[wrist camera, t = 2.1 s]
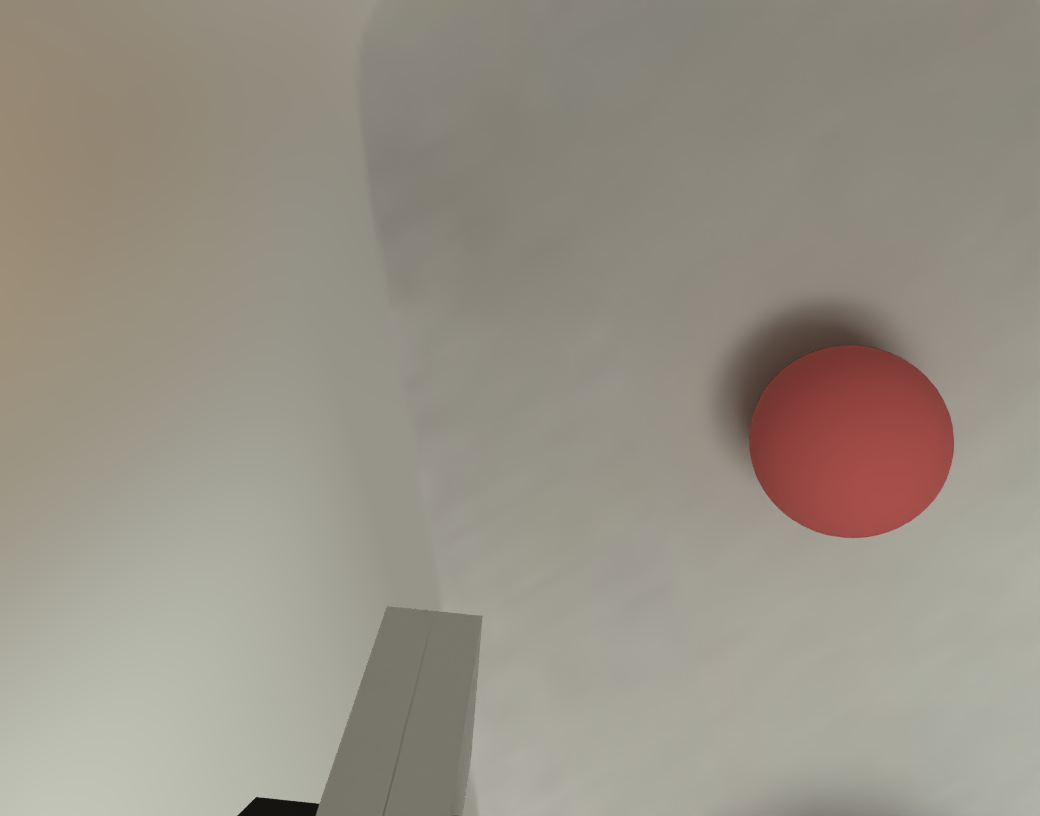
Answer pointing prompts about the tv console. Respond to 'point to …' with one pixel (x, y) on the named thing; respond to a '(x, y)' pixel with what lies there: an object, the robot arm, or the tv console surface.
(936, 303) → the tv console surface
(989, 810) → the tv console surface
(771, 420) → the ball
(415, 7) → the tv console surface
